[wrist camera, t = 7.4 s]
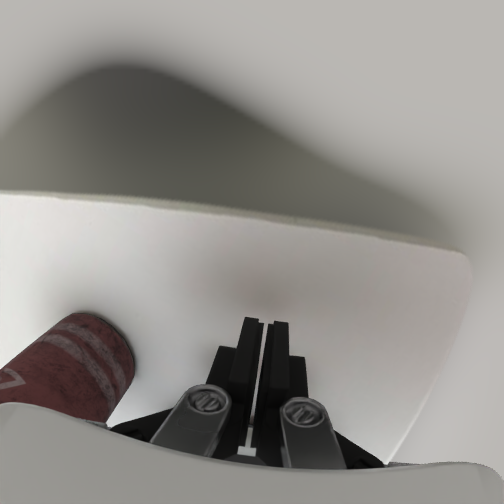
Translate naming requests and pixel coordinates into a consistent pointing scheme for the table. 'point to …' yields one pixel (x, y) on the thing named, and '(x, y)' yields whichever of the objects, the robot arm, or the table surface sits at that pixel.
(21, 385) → the can
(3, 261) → the table surface
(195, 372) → the table surface
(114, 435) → the robot arm
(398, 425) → the table surface
